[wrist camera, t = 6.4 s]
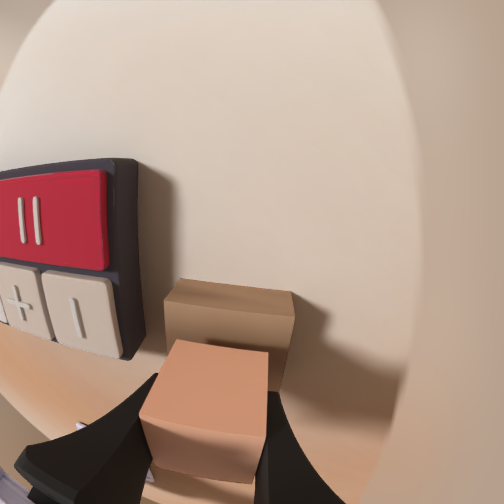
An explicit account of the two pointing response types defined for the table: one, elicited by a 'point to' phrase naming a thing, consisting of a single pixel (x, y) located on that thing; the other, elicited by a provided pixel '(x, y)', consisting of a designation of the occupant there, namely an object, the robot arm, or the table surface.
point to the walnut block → (232, 320)
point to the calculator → (73, 254)
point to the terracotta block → (208, 412)
